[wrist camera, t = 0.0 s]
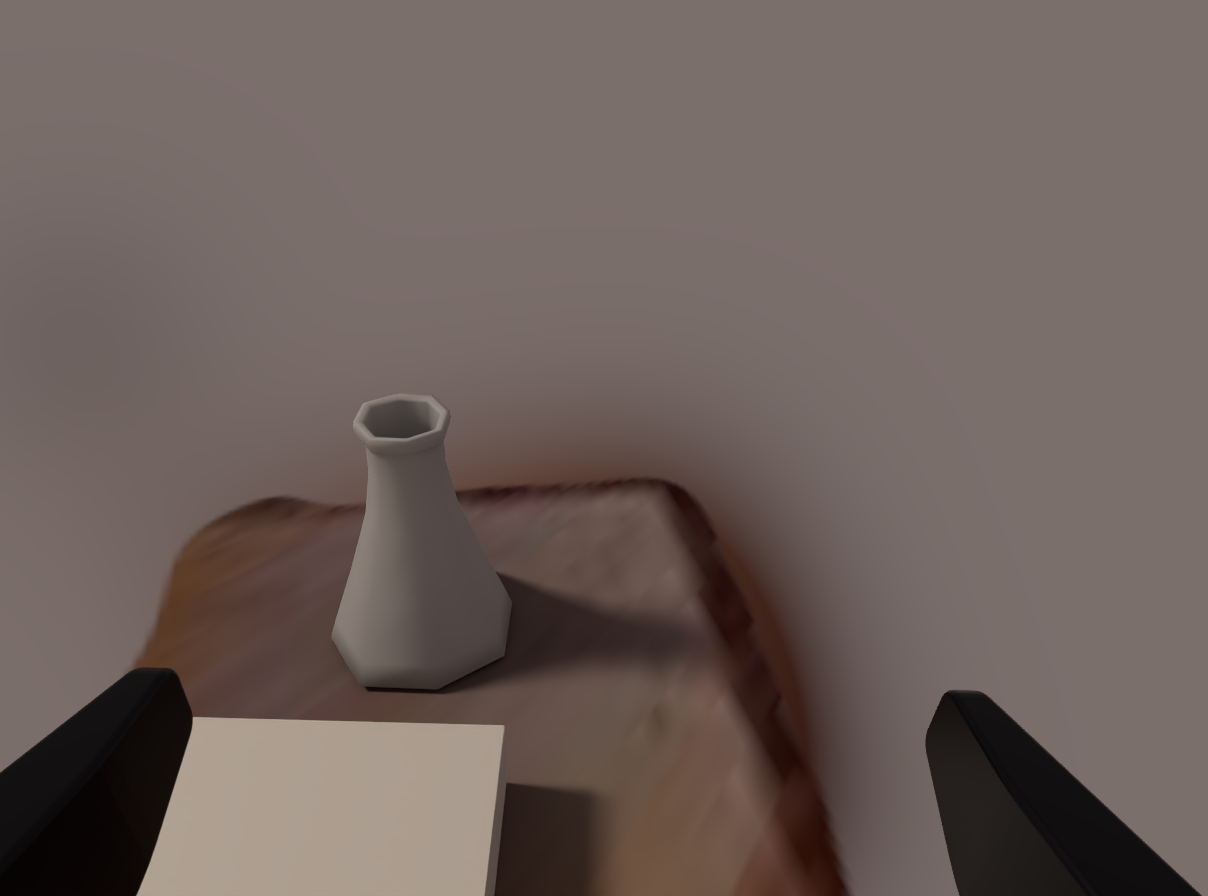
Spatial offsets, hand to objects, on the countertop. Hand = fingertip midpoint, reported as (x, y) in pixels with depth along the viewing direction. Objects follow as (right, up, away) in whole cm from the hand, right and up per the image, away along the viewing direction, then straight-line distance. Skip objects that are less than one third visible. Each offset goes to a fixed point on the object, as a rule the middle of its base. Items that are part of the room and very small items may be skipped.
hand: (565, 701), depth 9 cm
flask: (-7, -4, +23) cm, 24 cm away
